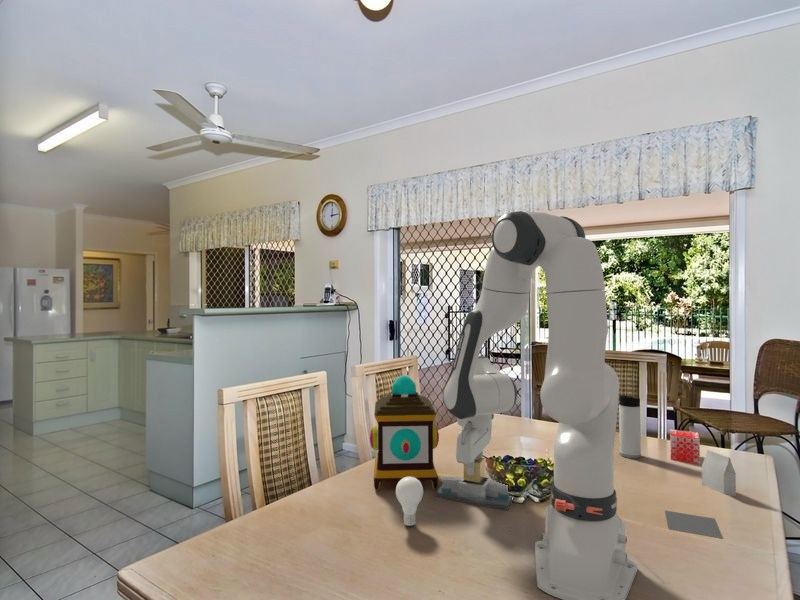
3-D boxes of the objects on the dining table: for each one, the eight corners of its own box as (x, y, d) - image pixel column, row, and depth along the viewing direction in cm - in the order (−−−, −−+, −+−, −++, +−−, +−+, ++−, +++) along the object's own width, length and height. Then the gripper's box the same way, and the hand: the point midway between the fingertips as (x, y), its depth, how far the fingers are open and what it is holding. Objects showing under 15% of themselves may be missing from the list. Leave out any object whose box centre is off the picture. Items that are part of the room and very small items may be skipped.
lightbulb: (400, 534, 102) (399, 484, 102) (392, 521, 108) (392, 473, 108) (427, 530, 104) (427, 480, 104) (418, 517, 110) (418, 471, 110)
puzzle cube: (699, 463, 145) (699, 438, 145) (670, 459, 149) (670, 435, 149) (698, 456, 152) (697, 432, 152) (670, 452, 156) (670, 429, 156)
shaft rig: (507, 510, 113) (507, 492, 113) (434, 496, 121) (434, 480, 121) (515, 495, 122) (515, 478, 122) (447, 483, 130) (447, 467, 130)
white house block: (724, 497, 120) (723, 458, 120) (702, 487, 127) (701, 450, 127) (735, 496, 121) (735, 457, 121) (713, 486, 127) (713, 449, 127)
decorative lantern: (369, 493, 124) (368, 381, 124) (371, 467, 144) (370, 370, 144) (443, 492, 124) (442, 380, 125) (435, 466, 144) (434, 369, 144)
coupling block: (480, 482, 119) (480, 459, 119) (463, 479, 121) (463, 456, 121) (484, 476, 123) (484, 454, 123) (468, 473, 125) (468, 451, 125)
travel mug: (614, 454, 154) (613, 394, 154) (628, 451, 157) (627, 392, 157) (631, 460, 148) (630, 397, 148) (645, 457, 151) (644, 395, 151)
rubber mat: (723, 542, 97) (723, 538, 97) (668, 532, 102) (668, 528, 102) (714, 522, 106) (714, 518, 106) (664, 513, 111) (664, 510, 111)
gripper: (474, 429, 111) (474, 486, 111) (495, 410, 130) (495, 460, 130) (449, 425, 114) (449, 482, 114) (473, 408, 132) (473, 456, 132)
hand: (474, 470), depth 122 cm, fingers closed on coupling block, 4 cm apart
